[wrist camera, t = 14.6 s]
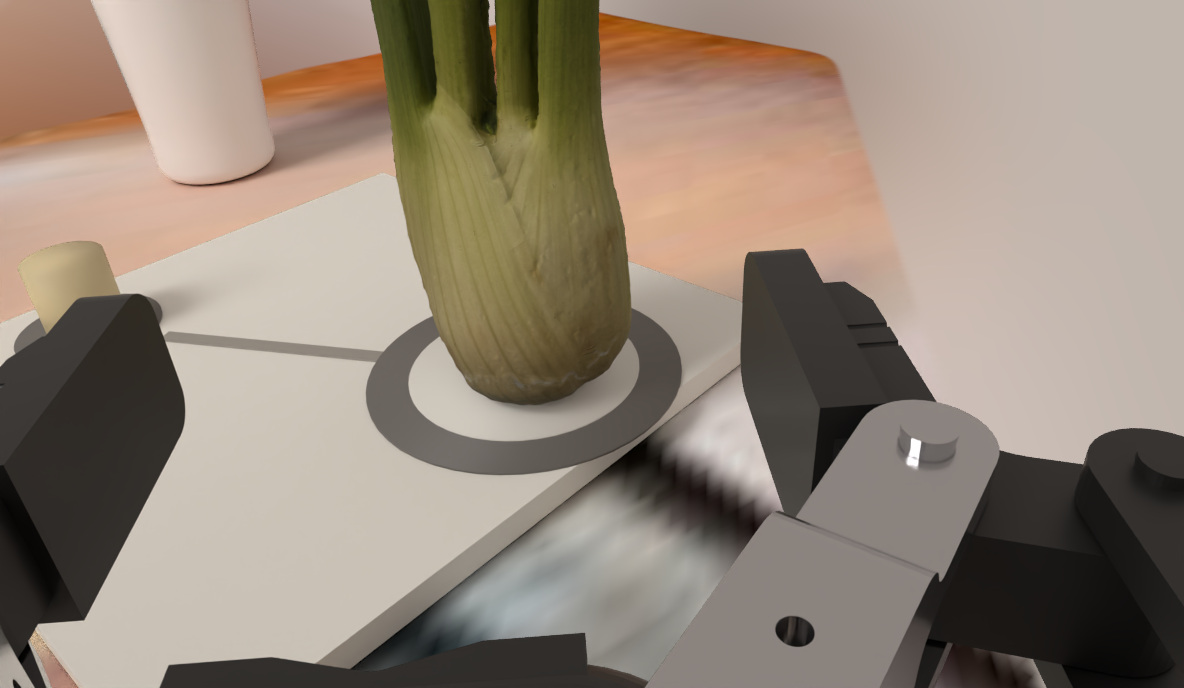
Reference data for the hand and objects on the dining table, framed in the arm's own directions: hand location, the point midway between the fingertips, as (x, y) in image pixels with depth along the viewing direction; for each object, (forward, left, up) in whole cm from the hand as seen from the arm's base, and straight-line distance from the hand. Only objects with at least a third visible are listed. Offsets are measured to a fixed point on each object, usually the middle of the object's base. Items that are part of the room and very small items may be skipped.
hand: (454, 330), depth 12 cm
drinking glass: (-33, +12, -9) cm, 36 cm away
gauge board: (-14, +5, -9) cm, 17 cm away
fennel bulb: (-7, +8, -8) cm, 14 cm away
